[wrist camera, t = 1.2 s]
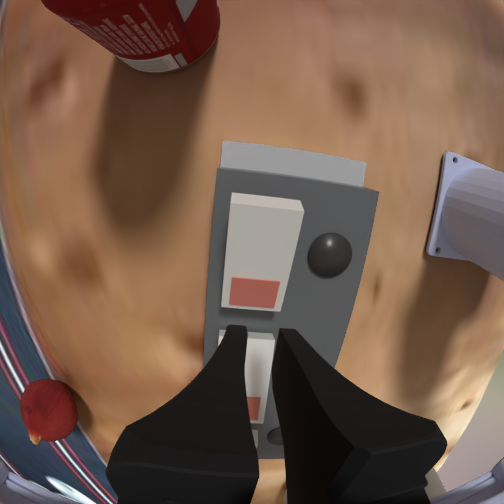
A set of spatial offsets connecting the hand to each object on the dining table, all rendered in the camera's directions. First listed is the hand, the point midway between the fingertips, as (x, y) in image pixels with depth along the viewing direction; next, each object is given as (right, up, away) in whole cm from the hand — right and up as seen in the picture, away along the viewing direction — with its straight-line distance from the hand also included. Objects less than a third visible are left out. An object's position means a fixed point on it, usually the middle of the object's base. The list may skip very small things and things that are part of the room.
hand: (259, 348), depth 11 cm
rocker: (0, +3, +4) cm, 5 cm away
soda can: (-6, +18, +4) cm, 19 cm away
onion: (-19, -9, +12) cm, 25 cm away
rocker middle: (-1, -4, +6) cm, 8 cm away
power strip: (+1, -3, +11) cm, 11 cm away
